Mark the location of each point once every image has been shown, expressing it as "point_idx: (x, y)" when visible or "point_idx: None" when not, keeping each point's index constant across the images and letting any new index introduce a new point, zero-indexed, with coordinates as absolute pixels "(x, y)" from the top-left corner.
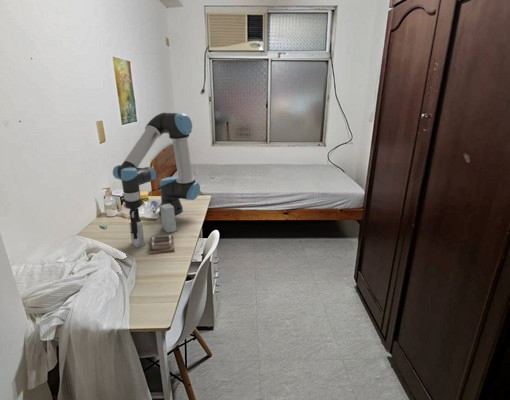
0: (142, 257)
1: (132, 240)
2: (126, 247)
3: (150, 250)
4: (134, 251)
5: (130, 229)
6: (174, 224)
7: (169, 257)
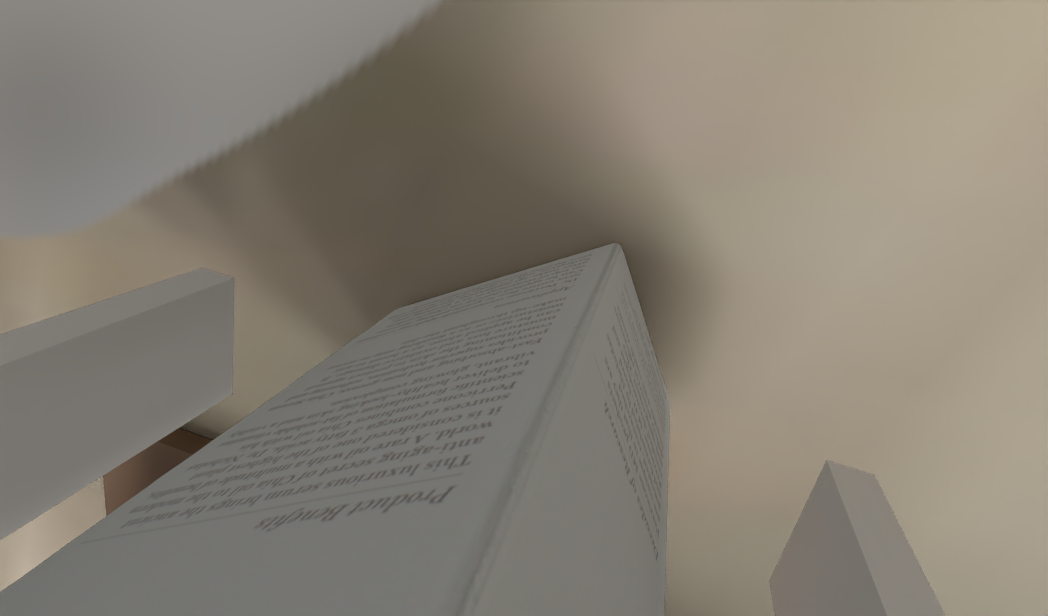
0: (60, 298)
1: (539, 286)
2: (507, 96)
3: (170, 458)
4: (274, 225)
5: (454, 465)
6: None
7: (22, 567)
